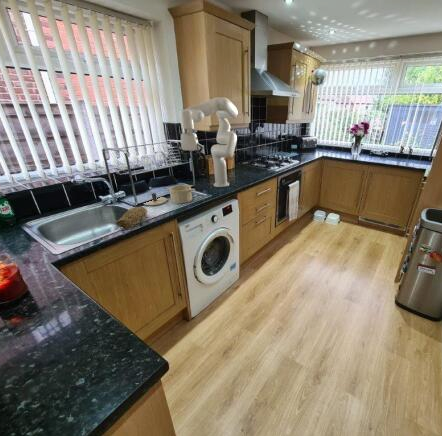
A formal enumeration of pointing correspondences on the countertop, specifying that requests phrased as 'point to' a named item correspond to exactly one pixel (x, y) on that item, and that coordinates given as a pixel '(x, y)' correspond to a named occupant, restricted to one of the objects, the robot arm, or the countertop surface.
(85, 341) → the countertop surface
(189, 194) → the pot
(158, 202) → the lid
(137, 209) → the brown hedgehog
